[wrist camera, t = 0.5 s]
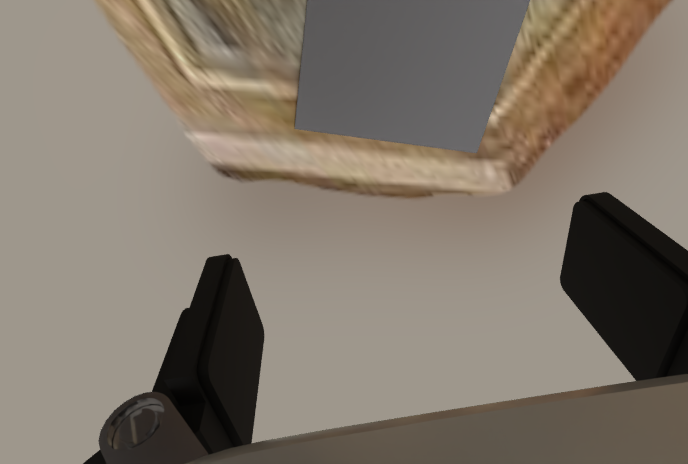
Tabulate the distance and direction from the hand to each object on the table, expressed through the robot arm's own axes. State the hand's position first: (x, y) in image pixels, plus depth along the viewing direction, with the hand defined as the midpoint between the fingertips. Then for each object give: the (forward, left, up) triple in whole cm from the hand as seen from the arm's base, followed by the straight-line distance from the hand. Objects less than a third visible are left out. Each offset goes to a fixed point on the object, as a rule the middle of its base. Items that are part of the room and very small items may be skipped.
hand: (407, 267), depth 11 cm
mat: (-3, +6, -29) cm, 29 cm away
